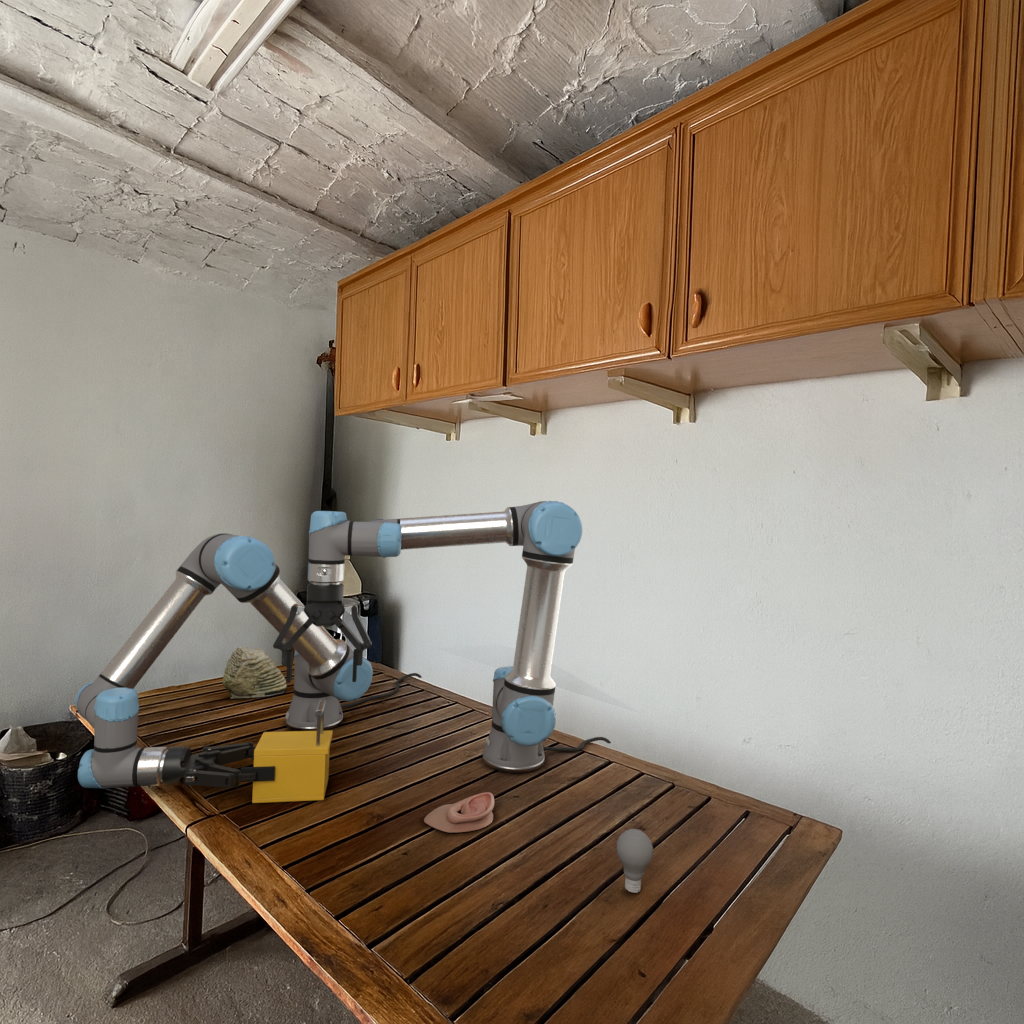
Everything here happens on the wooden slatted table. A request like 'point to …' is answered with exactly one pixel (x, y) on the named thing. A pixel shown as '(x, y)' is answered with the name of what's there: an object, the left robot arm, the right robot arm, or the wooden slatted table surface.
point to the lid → (297, 739)
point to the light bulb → (634, 857)
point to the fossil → (252, 674)
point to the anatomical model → (463, 814)
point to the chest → (292, 778)
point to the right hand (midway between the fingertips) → (322, 680)
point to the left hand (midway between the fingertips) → (279, 762)
